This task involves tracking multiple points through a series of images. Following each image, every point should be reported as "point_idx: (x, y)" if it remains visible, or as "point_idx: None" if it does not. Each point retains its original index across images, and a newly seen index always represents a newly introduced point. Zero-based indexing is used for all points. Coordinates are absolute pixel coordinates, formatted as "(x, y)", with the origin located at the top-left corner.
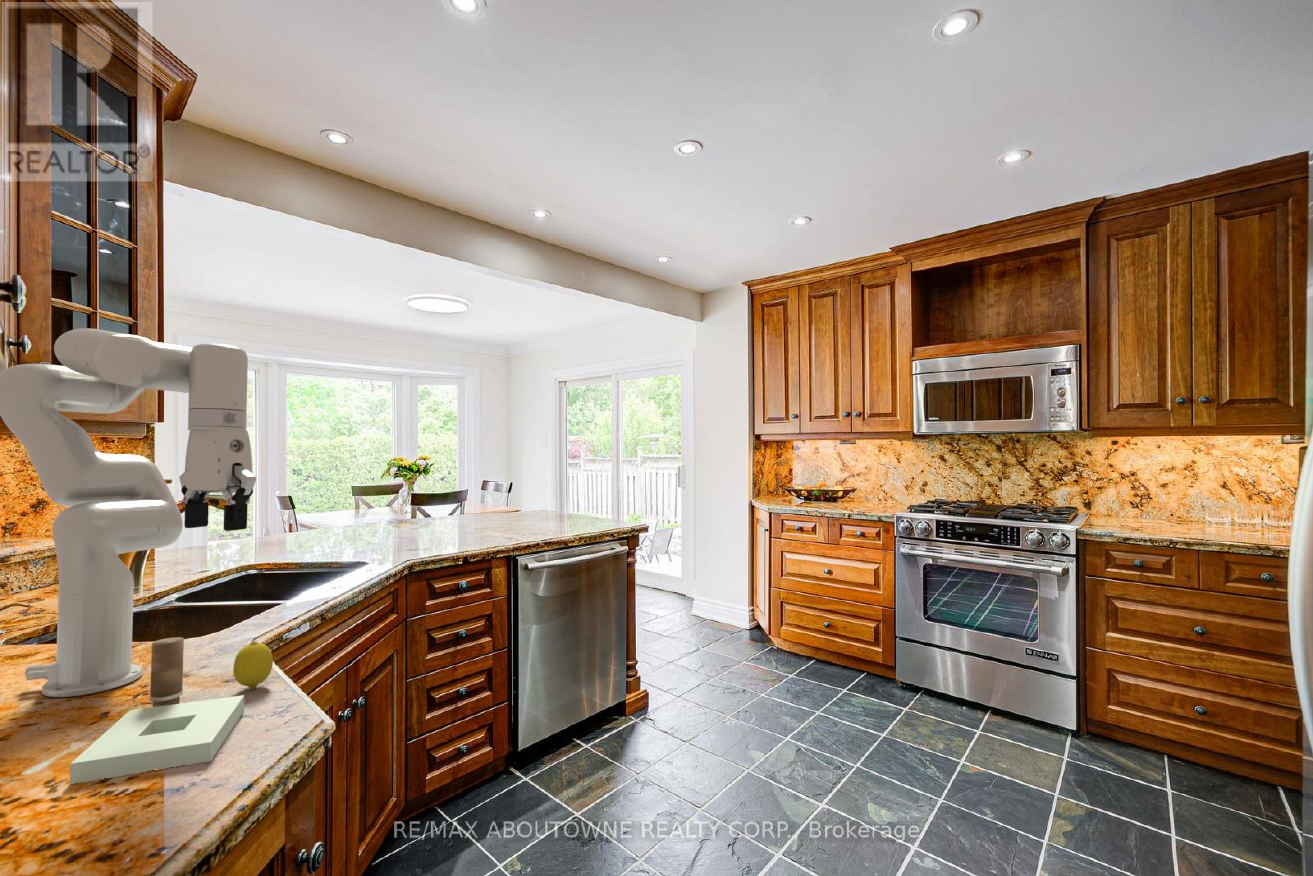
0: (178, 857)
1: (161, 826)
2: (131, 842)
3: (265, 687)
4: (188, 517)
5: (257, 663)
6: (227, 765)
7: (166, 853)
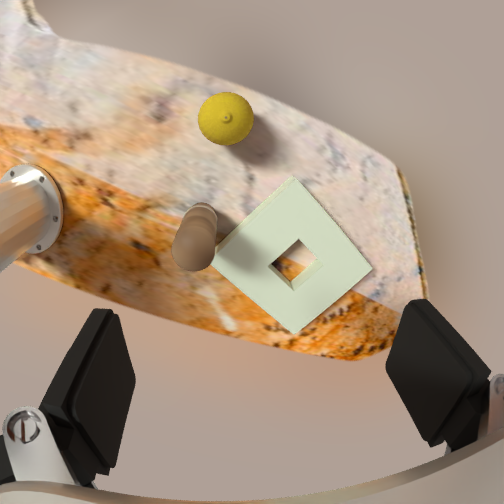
0: None
1: None
2: None
3: None
4: (126, 415)
5: (251, 127)
6: (383, 258)
7: None
